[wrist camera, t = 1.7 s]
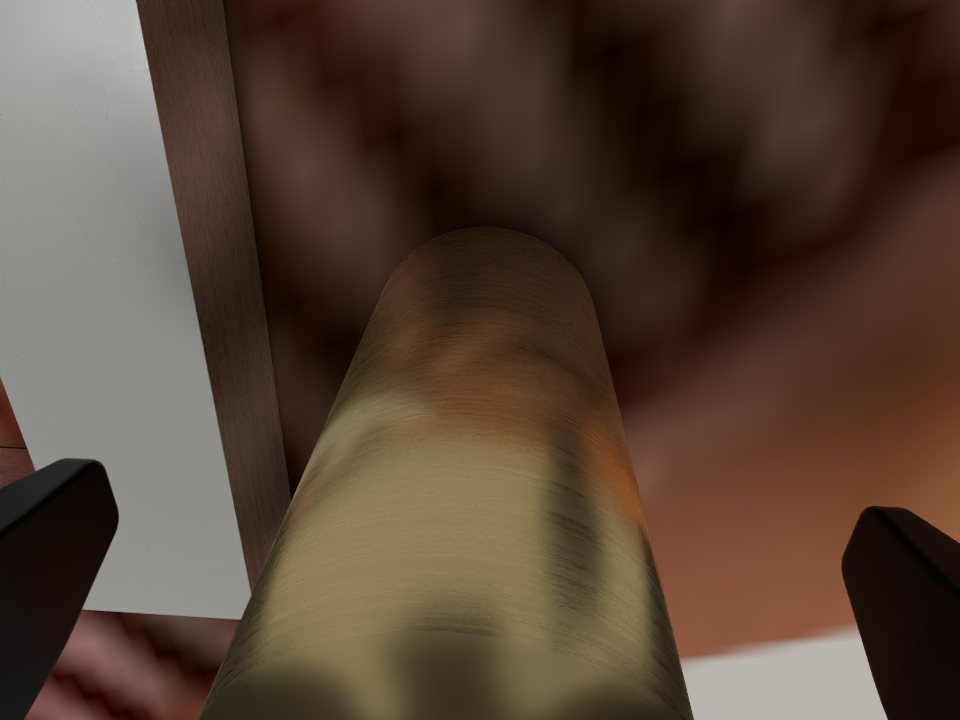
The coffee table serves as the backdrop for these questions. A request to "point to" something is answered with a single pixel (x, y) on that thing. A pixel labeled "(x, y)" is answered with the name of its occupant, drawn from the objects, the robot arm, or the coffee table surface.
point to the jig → (139, 293)
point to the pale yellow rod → (464, 518)
